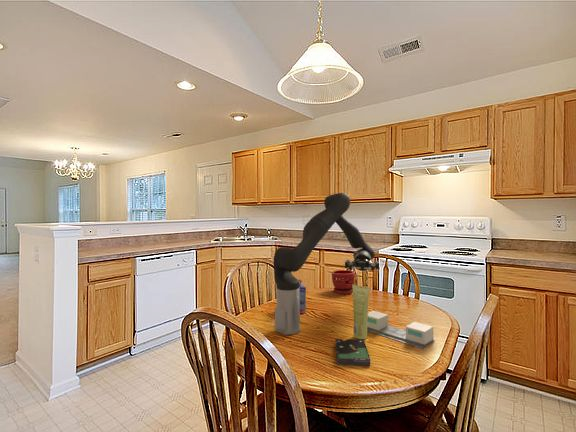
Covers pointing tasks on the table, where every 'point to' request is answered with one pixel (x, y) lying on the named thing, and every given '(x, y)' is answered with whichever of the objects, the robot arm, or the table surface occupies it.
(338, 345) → the disk drive
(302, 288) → the ink cartridge box
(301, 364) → the table surface
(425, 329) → the mounted blocks
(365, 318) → the tube
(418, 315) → the table surface
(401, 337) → the rail plate
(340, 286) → the plant pot
